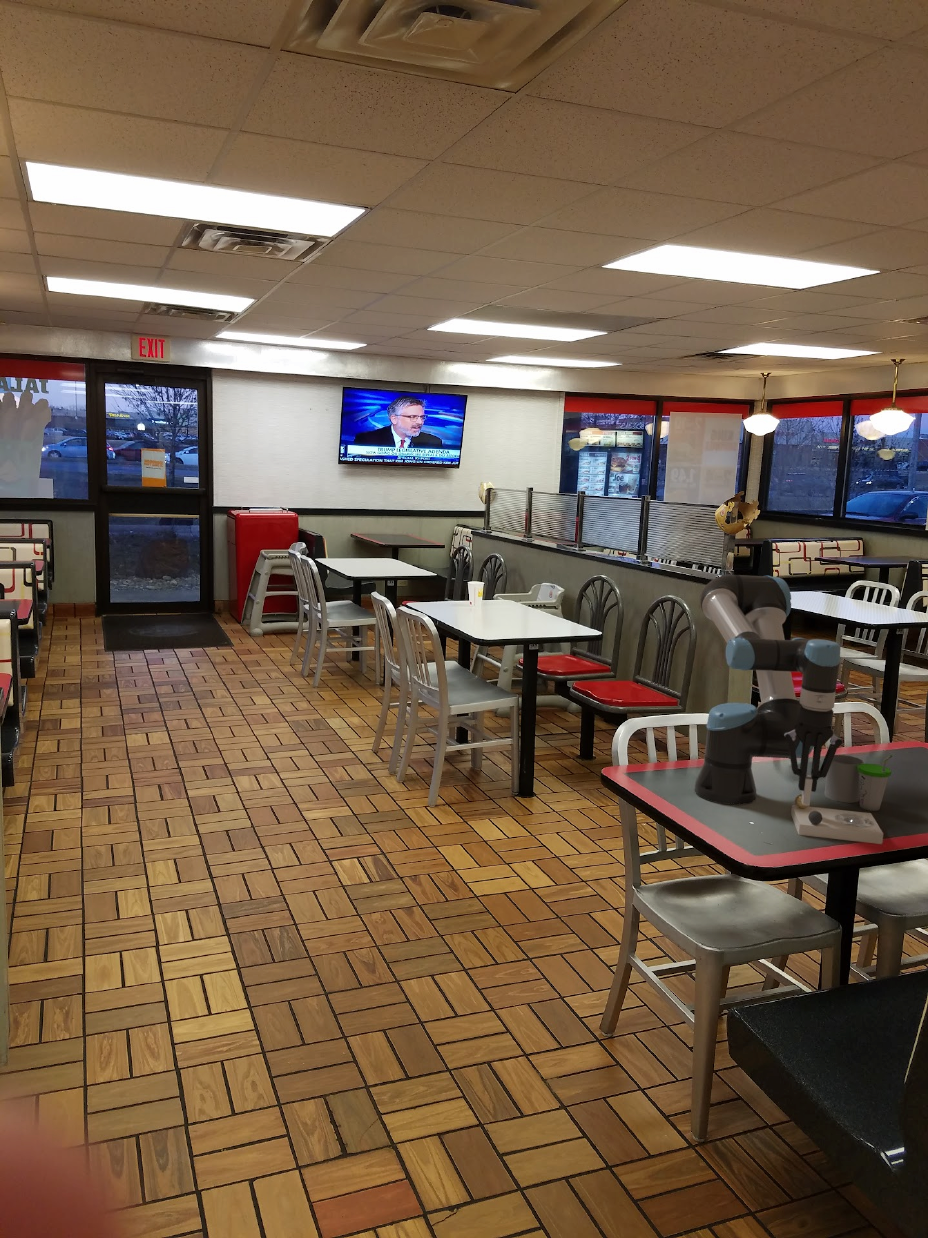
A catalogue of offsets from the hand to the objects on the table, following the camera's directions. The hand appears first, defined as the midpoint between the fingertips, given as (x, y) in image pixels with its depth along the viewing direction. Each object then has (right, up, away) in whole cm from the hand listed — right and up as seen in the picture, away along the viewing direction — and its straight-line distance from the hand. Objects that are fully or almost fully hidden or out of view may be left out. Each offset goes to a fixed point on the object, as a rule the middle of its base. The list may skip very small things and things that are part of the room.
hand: (805, 803), depth 219 cm
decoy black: (0, -2, -5) cm, 6 cm away
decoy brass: (+1, 0, +4) cm, 4 cm away
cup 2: (+21, -4, +14) cm, 26 cm away
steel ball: (+11, -5, -2) cm, 12 cm away
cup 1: (+17, -3, +21) cm, 27 cm away
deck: (+7, -6, -1) cm, 9 cm away
